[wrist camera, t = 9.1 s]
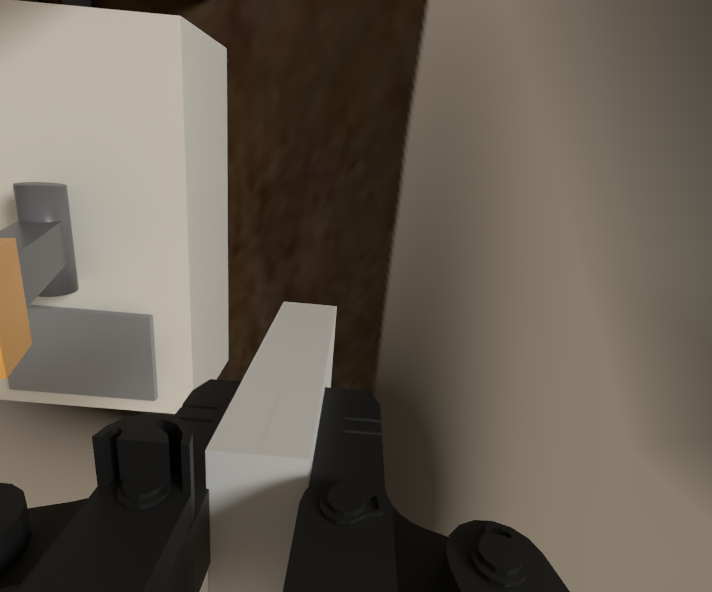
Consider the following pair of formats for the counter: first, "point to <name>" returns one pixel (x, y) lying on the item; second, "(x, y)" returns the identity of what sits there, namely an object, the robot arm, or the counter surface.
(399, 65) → the counter surface
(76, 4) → the parallel rod pair
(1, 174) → the block
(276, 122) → the counter surface
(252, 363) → the robot arm
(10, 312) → the lever
